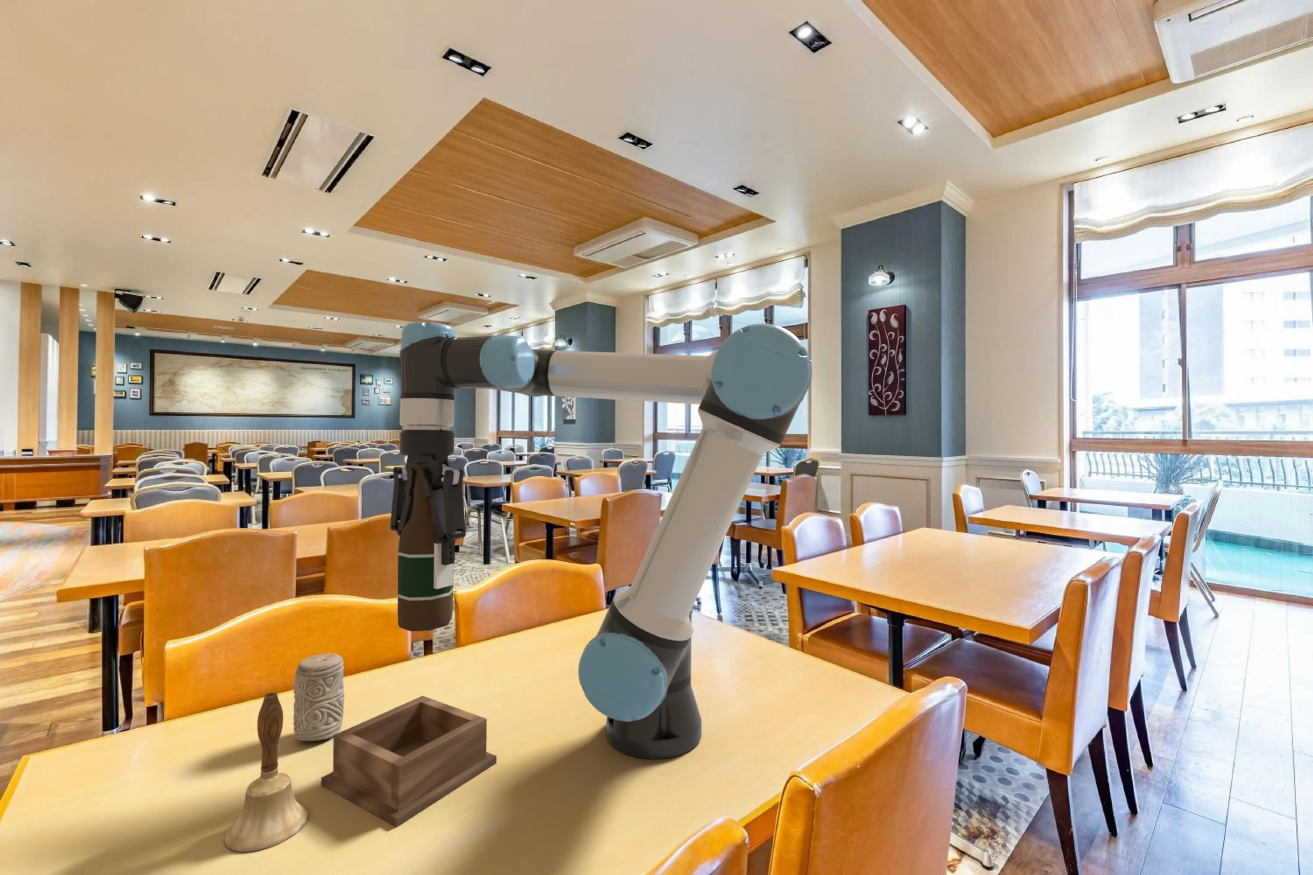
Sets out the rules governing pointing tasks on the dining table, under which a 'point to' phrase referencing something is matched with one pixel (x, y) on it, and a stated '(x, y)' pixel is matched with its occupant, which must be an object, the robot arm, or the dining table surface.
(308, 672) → the carving
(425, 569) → the beer bottle
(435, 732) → the box
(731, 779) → the dining table surface
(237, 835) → the hand bell
